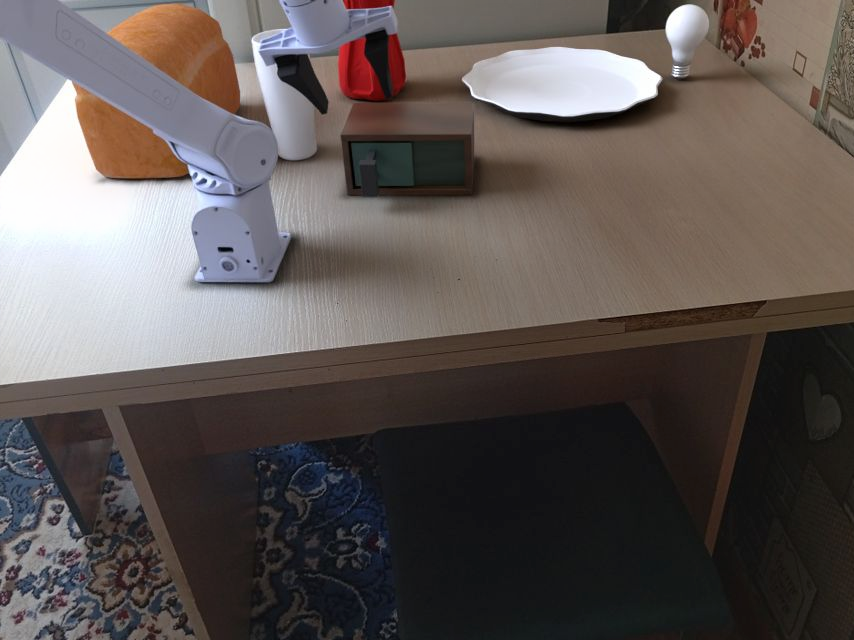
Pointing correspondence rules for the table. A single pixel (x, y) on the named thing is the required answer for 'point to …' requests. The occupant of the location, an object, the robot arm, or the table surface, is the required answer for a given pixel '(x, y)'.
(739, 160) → the table surface
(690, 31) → the lightbulb
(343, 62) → the water bottle
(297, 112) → the white cylinder
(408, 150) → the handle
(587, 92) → the plate
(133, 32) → the bread
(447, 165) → the cupboard
